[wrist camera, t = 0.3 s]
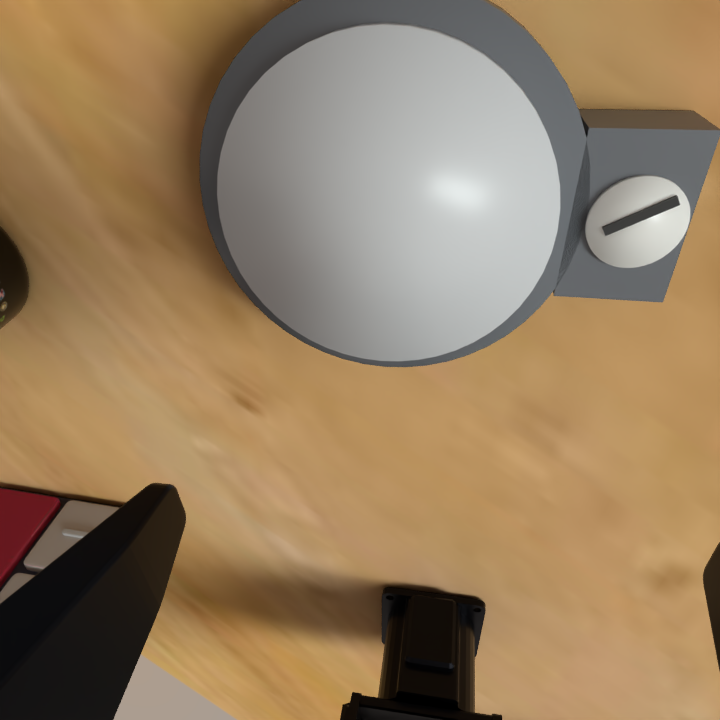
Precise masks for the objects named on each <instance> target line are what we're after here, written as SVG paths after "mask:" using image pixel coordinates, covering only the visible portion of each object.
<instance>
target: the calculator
mask: <svg viewBox="0 0 720 720" xmlns="http://www.w3.org/2000/svg"><path fill="white" fill-rule="evenodd" d="M119 508H120V507H117V506H111V505H105V504H99V503H93V502H87V501H81V500H75V499H69V498H63V497H56V496H50V495H44V494H38V493H32V492H26V491H20V490H14V489H8V488H1V487H0V603H1V602H3V601H4V600H5V599H6V598H8V597H9V596H10V595H11V594H13V593H14V592H15V591H16V590H18V589H19V588H20V587H21V586H23V585H24V584H25V583H26V582H28V581H29V580H30V579H31V578H33V577H34V576H35V575H36V574H38V573H39V572H40V571H41V570H43V569H44V568H45V567H46V566H48V565H49V564H50V563H51V562H53V561H54V560H55V559H56V558H58V557H59V556H60V555H61V554H63V553H64V552H65V551H66V550H68V549H69V548H70V547H71V546H73V545H74V544H75V543H76V542H78V541H79V540H80V539H81V538H83V537H84V536H85V535H86V534H88V533H89V532H90V531H91V530H93V529H94V528H95V527H96V526H98V525H99V524H100V523H101V522H103V521H104V520H105V519H106V518H108V517H109V516H110V515H111V514H113V513H114V512H115V511H116V510H118V509H119Z"/></svg>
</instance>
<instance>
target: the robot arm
mask: <svg viewBox="0 0 720 720" xmlns="http://www.w3.org/2000/svg"><path fill="white" fill-rule="evenodd" d="M185 523H186V514H185V510H184V507H183V505H182V502H181V500H180V497H179V494H178V492H177V489H176V487H175V486H173V485H171V484H162V483H152V484H150V485H148V486H147V487H145V488H144V489H143V490H141V491H140V492H139V493H138V494H136V495H135V496H134V497H133V498H131V499H130V500H129V501H128V502H126V503H125V504H124V505H123V506H121V507H120V508H119V509H118V510H116V511H115V512H114V513H113V514H111V515H110V516H109V517H108V518H106V519H105V520H104V521H103V522H101V523H100V524H99V525H98V526H96V527H95V528H94V529H93V530H91V531H90V532H89V533H88V534H86V535H85V536H84V537H83V538H81V539H80V540H79V541H78V542H76V543H75V544H74V545H73V546H71V547H70V548H69V549H68V550H66V551H65V552H64V553H63V554H61V555H60V556H59V557H58V558H56V559H55V560H54V561H53V562H51V563H50V564H49V565H48V566H46V567H45V568H44V569H43V570H41V571H40V572H39V573H38V574H36V575H35V576H34V577H33V578H31V579H30V580H29V581H28V582H26V583H25V584H24V585H23V586H21V587H20V588H19V589H18V590H16V591H15V592H14V593H13V594H11V595H10V596H9V597H8V598H6V599H5V600H4V601H3V602H1V603H0V720H113V719H114V716H115V714H116V711H117V709H118V707H119V704H120V702H121V699H122V697H123V695H124V692H125V690H126V688H127V685H128V683H129V681H130V678H131V676H132V673H133V671H134V669H135V666H136V664H137V661H138V659H139V657H140V654H141V652H142V650H143V647H144V645H145V642H146V640H147V638H148V635H149V633H150V631H151V628H152V626H153V623H154V621H155V619H156V616H157V613H158V611H159V608H160V606H161V603H162V600H163V597H164V594H165V590H166V587H167V584H168V580H169V577H170V574H171V570H172V567H173V564H174V560H175V557H176V554H177V550H178V547H179V544H180V541H181V537H182V534H183V531H184V527H185ZM703 584H704V590H705V595H706V600H707V606H708V611H709V617H710V622H711V628H712V633H713V638H714V644H715V649H716V655H717V660H718V666H719V670H720V543H719V544H718V545H717V547H716V549H715V551H714V553H713V554H712V556H711V558H710V560H709V561H708V563H707V565H706V567H705V569H704V573H703ZM484 616H485V603H484V602H483V601H481V600H477V599H470V598H462V597H455V596H448V595H441V594H433V593H426V592H419V591H412V590H404V589H397V588H385V589H383V593H382V643H383V644H385V646H384V654H383V662H382V670H381V678H380V686H379V693H378V698H376V697H369V696H363V695H362V694H361V693H355V692H352V696H351V701H350V703H347V704H344V705H343V707H342V712H341V718H340V720H502V715H498V714H492V715H486V714H480V713H475V657H476V655H477V650H478V645H479V640H480V635H481V630H482V625H483V620H484Z"/></svg>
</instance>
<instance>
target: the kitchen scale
mask: <svg viewBox="0 0 720 720" xmlns="http://www.w3.org/2000/svg"><path fill="white" fill-rule="evenodd" d="M719 137H720V129H719V128H718V127H716V126H715V125H713V124H712V123H710V122H709V121H708V120H706V119H705V118H703V117H702V116H701V115H699V114H698V113H696V112H695V111H678V110H609V109H578V108H577V105H576V103H575V101H574V99H573V96H572V94H571V92H570V90H569V88H568V85H567V83H566V82H565V80H564V79H563V77H562V76H561V74H560V73H559V71H558V69H557V68H556V66H555V65H554V63H553V62H552V60H551V59H550V57H549V56H548V55H547V53H546V52H545V51H544V49H543V48H542V47H541V45H540V44H539V43H538V42H537V41H536V40H535V39H534V38H533V36H532V35H531V34H530V33H529V32H528V31H527V30H526V28H525V27H524V26H523V25H521V24H520V23H519V22H518V21H517V20H515V19H514V18H513V17H512V16H511V15H509V14H508V13H507V12H506V11H505V10H503V9H502V8H501V7H499V6H497V5H496V4H494V3H492V2H490V1H489V0H301V1H299V2H297V3H296V4H294V5H292V6H291V7H289V8H288V9H286V10H285V11H283V12H282V13H280V14H278V15H277V16H275V17H274V18H273V19H272V20H270V21H269V22H268V23H267V24H266V25H265V26H264V27H263V28H261V29H260V30H259V31H258V32H257V33H256V34H255V35H254V36H252V38H251V39H250V40H249V41H248V42H247V44H246V45H245V46H244V47H243V48H242V50H241V51H240V52H239V53H238V54H237V56H236V57H235V58H234V60H233V61H232V63H231V65H230V66H229V68H228V69H227V71H226V73H225V74H224V76H223V78H222V79H221V81H220V83H219V86H218V88H217V90H216V93H215V95H214V97H213V100H212V102H211V104H210V107H209V111H208V114H207V118H206V122H205V125H204V129H203V135H202V143H201V150H200V186H201V194H202V202H203V207H204V211H205V215H206V219H207V223H208V227H209V229H210V232H211V235H212V237H213V240H214V243H215V245H216V248H217V250H218V252H219V254H220V256H221V258H222V260H223V261H224V263H225V265H226V267H227V269H228V270H229V272H230V273H231V275H232V276H233V278H234V279H235V281H236V282H237V284H238V285H239V287H240V288H241V289H242V290H243V292H244V293H245V294H246V295H247V296H248V298H249V299H250V300H251V301H252V302H253V303H254V304H255V305H256V306H257V307H258V308H259V309H260V310H261V311H262V312H263V313H264V314H265V315H266V316H267V317H268V318H269V319H270V320H272V321H273V322H274V323H276V324H277V325H278V326H280V327H281V328H282V329H283V330H285V331H286V332H288V333H289V334H291V335H293V336H294V337H296V338H297V339H299V340H301V341H302V342H304V343H306V344H308V345H310V346H312V347H314V348H316V349H318V350H321V351H323V352H325V353H328V354H331V355H334V356H336V357H339V358H342V359H346V360H350V361H354V362H358V363H362V364H369V365H376V366H384V367H413V366H426V365H431V364H436V363H442V362H447V361H450V360H453V359H457V358H460V357H463V356H466V355H469V354H471V353H474V352H476V351H478V350H480V349H483V348H485V347H487V346H489V345H491V344H492V343H494V342H496V341H498V340H499V339H501V338H503V337H505V336H506V335H508V334H509V333H510V332H512V331H513V330H514V329H516V328H517V327H518V326H520V325H521V324H522V323H524V322H525V321H526V320H527V319H528V318H529V317H530V316H531V315H532V314H533V313H534V312H535V311H536V310H537V309H538V308H539V307H540V306H541V305H542V304H543V303H544V302H545V300H546V299H547V298H548V297H549V296H550V294H551V293H552V292H553V294H554V296H567V297H583V298H600V299H616V300H632V301H649V302H663V300H664V297H665V295H666V292H667V289H668V286H669V283H670V280H671V277H672V274H673V271H674V268H675V265H676V262H677V259H678V257H679V254H680V251H681V248H682V245H683V242H684V239H685V236H686V233H687V230H688V227H689V224H690V221H691V219H692V216H693V213H694V210H695V207H696V204H697V201H698V198H699V195H700V192H701V189H702V186H703V183H704V181H705V178H706V175H707V172H708V169H709V166H710V163H711V160H712V157H713V154H714V151H715V148H716V145H717V143H718V140H719Z"/></svg>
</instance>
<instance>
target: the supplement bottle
mask: <svg viewBox="0 0 720 720" xmlns="http://www.w3.org/2000/svg"><path fill="white" fill-rule="evenodd" d="M28 292H29V278H28V272H27V268H26V265H25V263H24V260H23V258H22V256H21V254H20V252H19V250H18V248H17V247H16V245H15V244H14V242H13V241H12V239H11V238H10V237H9V235H8V234H7V233H6V232H5V231H4V230H3V229H2V227H1V226H0V329H1V328H3V327H4V326H5V325H6V324H7V323H8V322H9V321H11V320H12V319H13V318H14V317H15V316H16V315H17V314H18V313H19V312H20V311H21V310H22V308H23V307H24V305H25V303H26V300H27V297H28Z"/></svg>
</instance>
